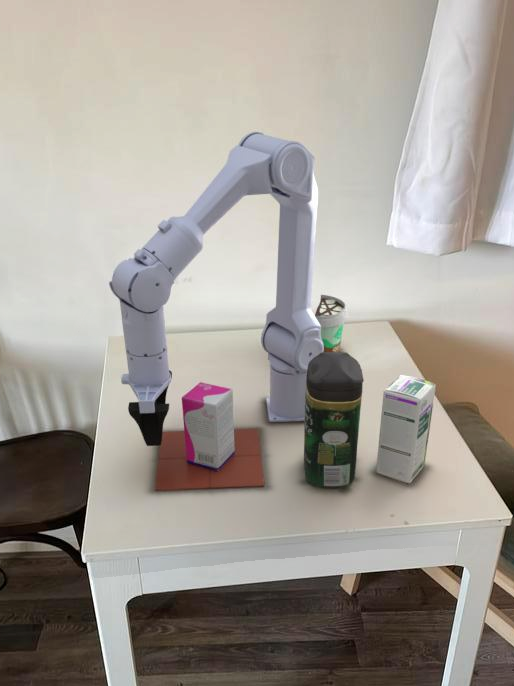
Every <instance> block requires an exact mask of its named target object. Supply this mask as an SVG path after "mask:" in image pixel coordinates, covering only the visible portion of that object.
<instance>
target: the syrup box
mask: <svg viewBox="0 0 514 686" xmlns="http://www.w3.org/2000/svg"><path fill="white" fill-rule="evenodd" d="M435 393H436V383H434V382H431V381H429V380H426V379H423V378H419V377H414V376H410V375H403V374H400V375H399V376H398V377H397V378H396V379H395V380H393V381H392V382H391V383H390V384H389V385H388V386H386V388H385V389H384V390H383V395H382V405H381V415H380V424H379V425H380V426H379V437H378V446H377V447H378V449H377V457H376V458H377V460H376V469H375V471H376V473H377V474H379V475H381V476H384V477H387V478H389V479H393V480H396V481H399V482H402V483H404V484H405V483H406V484H409V485H410V484H411V483H412V481H413V480H414V479H415V478H416V477H417V476H418V474H419V473H420V472H421V471H422V470H423V468H424V467H425V465H426V459H427V458H426V457H427V450H428V442H429V435H430V431H431V430H430V429H431V422H432V414H433V408H434V400H435Z"/></svg>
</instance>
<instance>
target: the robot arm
mask: <svg viewBox="0 0 514 686" xmlns="http://www.w3.org/2000/svg"><path fill="white" fill-rule="evenodd" d="M315 160H316V159H315V156H314V155H313V154H312V153H311V152H310V151H309V149H308V148H306V146H305V145H303V143H301V142H299V141H297V140H296V141H295V140H286V139H284V138H279V137H276V136H272V135H267V134H264V133H263V132H259V131H251V132H249V133H246V134H245V135H244V136H243V137H242V138H241V139H240V140H239V142H238V144H237V145H235V146H234V147H232V148H231V149H230V151H229V153H228V157H227V160H226V163H225V164H224V166H223V167H222V168H221V170H220V171H218V173H217V175H215V176H214V178H213V180H211V182H210V183H209V185H208V186H207V187H206V188H205V190H203V192H201V194H200V196H198V198H197V200H196V201H195V202H194V203H193V204H192V205H191V207H190V208H189V209H188V210H187V212H186V213H185V214H184V215H182V216H170V217H169V218H168V219H167V220H166V219H163V220H161V222H159V224H158V225H157V229H158V230H157V231H156V233H155V234H154V235H152V237H151V238H149V240H147V242H146V243H145V244H144V245H143V246H142V247H141V249H140V248H137V250H136V251H135V252H134V253H133V257H129V258H128V259H124V260H122V261H121V262H119V263H118V265H116V267H115V268H114V270H113V274H112V276H111V281H109V282H108V285H109V288H110V290H111V292H112V294H113V295H114V296H115V297H116V298H117V299H118V300H119V307H120V314H121V323H122V332H123V339H124V346H125V353H126V362H127V370H128V373H123V374H122V375H121V377H120V381H121V384H122V385H127V386H128V385H129V387H130V388H131V390H132V392H133V393H134V396H136V397H135V398H136V399H137V400H138V401H130V402H129V403H128V406H127V409H128V413H129V415H130V417H131V418H132V419H133V420H134V421H135V423H136V424H137V426H138V428H139V431H140V433H141V435H142V439H143V441H144V444H145V445H146V446H147V447H160V445H161V442H162V433H163V432H164V431H163V430H164V422H165V420H166V417H167V415H168V413H169V410H170V403H166V401H167V393H168V389H169V386H170V384H171V382H172V379H173V371H171V369H170V368H169V367H170V365H169V354H168V353H169V352H168V345H167V344H168V343H167V332H166V331H167V330H166V320H165V312H164V305H166V304H167V303H168V301H169V300H170V296H171V290H172V286H173V285H174V284H175V281H176V279H177V278H178V277H179V276H180V275H181V274H182V273H183V271H184V270H185V269H186V268H187V267H188V266H189V265H190V264H191V263H192V261H193V260H194V259H195V258H196V257H197V256H198V255H199V253H200V252H202V250H203V248H204V247H203V246H204V235H205V234H206V233H208V231H209V230H210V229H211V228H212V227H213V226H214V225H216V224H217V223H218V222H219V221H220V220H221V219H222V218H223V217H224V216H225V215H226V214H228V212H230V210H231V209H232V208H233V207H235V205H237V203H239V202H240V201H241V200H242V199H243V198H244V197H246V196H259V195H270V196H271V197H272V198H273V199H274V200H275V201H276V202H277V203H278V204H279V219H278V220H279V221H278V244H277V245H278V246H277V267H276V269H277V270H276V293H275V294H276V296H275V307H273V308H272V309H271V310H269V311H268V312H267V313H266V319H265V325H264V327H263V330H262V332H261V336H260V343H261V347H262V349H263V350H264V351H265V352H266V353H267V360H269V397H266V399H265V401H266V409H267V416H268V417H267V418H268V421H269V422H270V423H285V422H305V395H306V379H307V369H308V364H309V362H310V361H311V360H312V359H313V358H314V357H315V356H317V355H319V354H320V353H321V352H323V351H324V344H323V341H322V338H321V325H320V324H319V322H318V320H317V319H316V317H315V313H314V312H313V310H312V309H311V307H312V306H311V305H312V290H313V276H314V275H313V274H314V264H315V263H314V261H315V249H316V247H315V246H316V235H317V218H318V207H319V206H318V205H319V204H318V203H319V188H318V184H317V180H316V177H315V174H314V172H315Z"/></svg>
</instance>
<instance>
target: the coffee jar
mask: <svg viewBox="0 0 514 686" xmlns="http://www.w3.org/2000/svg"><path fill="white" fill-rule="evenodd" d="M363 375H364V374H363V369H362V367H361V365H360V362H359V361H358V360H357V359H356V358H355V357H353V356H351V355H350V354H349V353H348V352H341V351H339V352H321V353H320V354H319V355H317V356H315V357H314V358H313V359H312V360H311V361H310V362H309V364H308V369H307V379H306V395H305V421H304V423H303V424H304V425H303V427H304V428H303V429H304V434H303V435H304V436H303V437H304V438H303V439H304V441H303V473H304V476H305V479H306V481H307V482H308V483H309V484H311V485H313V486H316V487H320V488H323V489H339V488H343V487H347V486H349V485H351V484H352V483H353V482H354V481H355V478H356V469H357V456H358V444H359V442H358V441H359V432H360V421H361V419H360V418H361V408H362V399H363V383H364V376H363Z"/></svg>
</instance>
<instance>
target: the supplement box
mask: <svg viewBox="0 0 514 686" xmlns="http://www.w3.org/2000/svg"><path fill="white" fill-rule="evenodd" d="M233 391H234V390H233V388H229V387H224V386H220V385H215V384H210V383H205V382H201V381H200V382H199V383H197V384H196V385H195V386H194V387H193V388H192V389H190V390H189V391H188V392H186V393H185V394H184V395H183V396H182V397H181V406H182V407H181V408H182V418H183V419H182V420H183V431H184V434H185V447H186V461H187V463H189V464H193V465H197V466H201V467H204V468H208V469H212V470H215V471H219V470H220V469H221V468H222V467H223V465H224V464H225V463H226V462H227V461H228V460H229V459H230V458H231V457H232V456H233V455H234V453H235V447H234V429H235V424H234V423H235V421H234V419H235V417H234V392H233Z"/></svg>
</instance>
